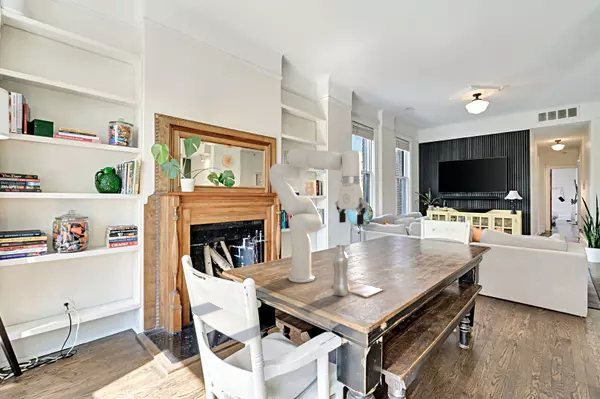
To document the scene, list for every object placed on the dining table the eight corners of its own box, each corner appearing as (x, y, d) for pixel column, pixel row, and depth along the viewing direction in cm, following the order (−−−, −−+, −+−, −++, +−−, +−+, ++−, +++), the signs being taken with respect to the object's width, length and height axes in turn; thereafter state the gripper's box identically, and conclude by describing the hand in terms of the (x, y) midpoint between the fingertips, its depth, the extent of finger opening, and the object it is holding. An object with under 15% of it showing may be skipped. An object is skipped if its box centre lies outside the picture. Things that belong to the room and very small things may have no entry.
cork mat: (332, 286, 125) (332, 285, 125) (349, 281, 133) (349, 280, 133) (366, 297, 111) (366, 296, 111) (383, 290, 119) (383, 289, 119)
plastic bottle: (345, 299, 110) (345, 248, 110) (329, 295, 114) (329, 246, 113) (351, 294, 116) (351, 245, 115) (336, 291, 119) (336, 244, 119)
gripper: (329, 181, 119) (329, 222, 120) (361, 180, 105) (361, 226, 106) (342, 182, 124) (342, 221, 124) (374, 180, 110) (374, 224, 110)
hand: (351, 223), depth 115 cm, fingers open, 9 cm apart
